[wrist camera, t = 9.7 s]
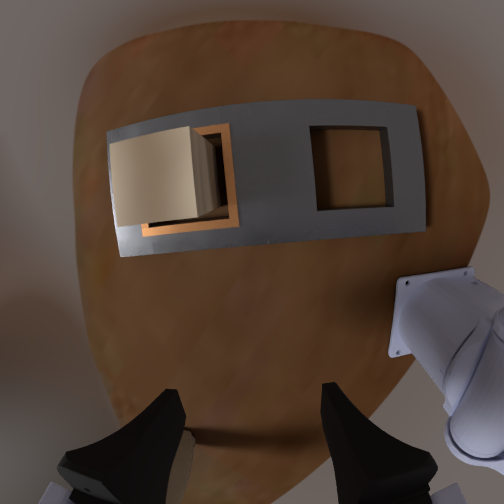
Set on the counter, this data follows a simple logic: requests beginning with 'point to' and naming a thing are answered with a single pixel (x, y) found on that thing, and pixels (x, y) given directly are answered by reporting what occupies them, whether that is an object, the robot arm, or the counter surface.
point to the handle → (181, 469)
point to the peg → (164, 177)
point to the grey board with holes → (286, 175)
